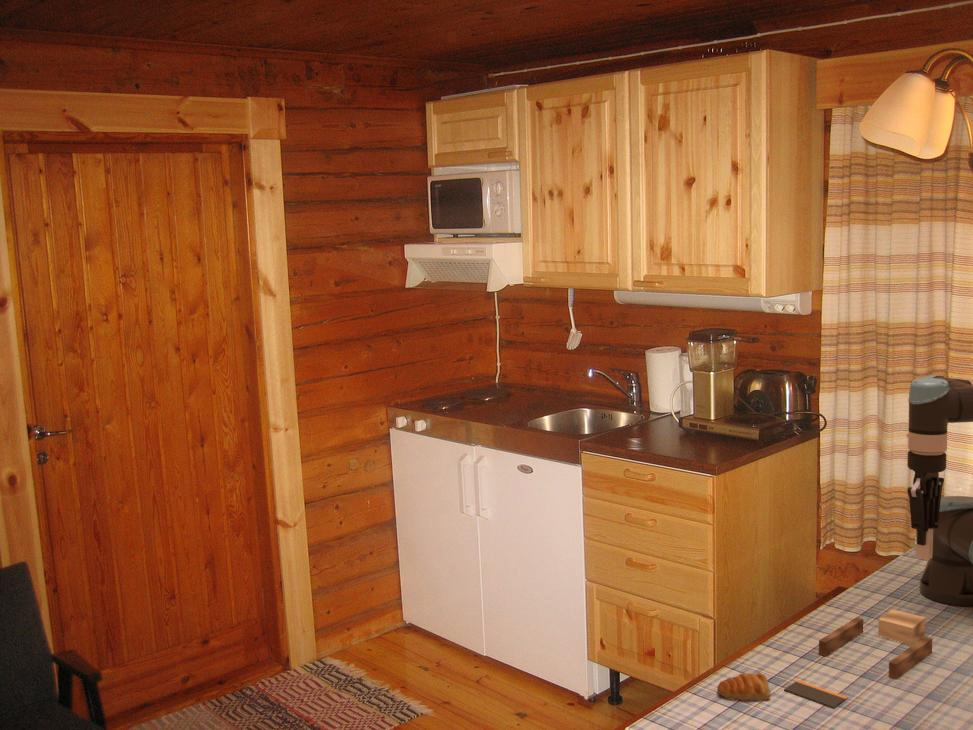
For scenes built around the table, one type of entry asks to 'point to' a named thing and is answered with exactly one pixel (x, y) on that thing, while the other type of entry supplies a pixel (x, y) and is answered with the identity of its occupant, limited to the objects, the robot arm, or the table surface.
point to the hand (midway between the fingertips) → (924, 557)
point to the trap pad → (815, 694)
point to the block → (901, 626)
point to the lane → (895, 666)
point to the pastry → (745, 687)
